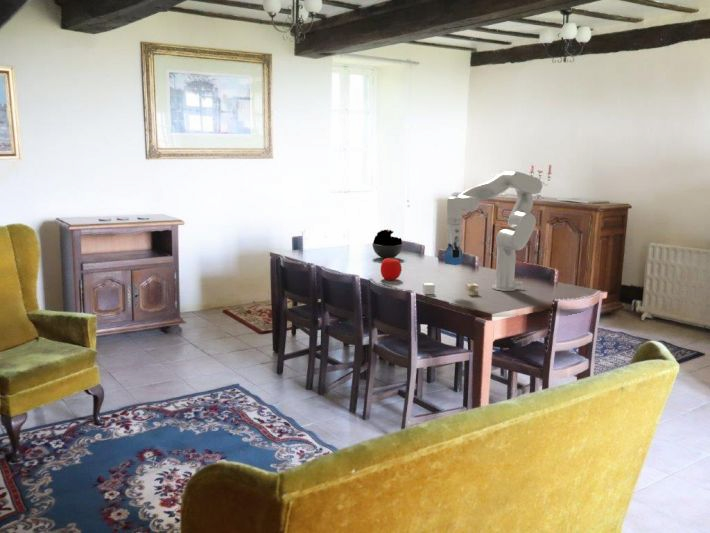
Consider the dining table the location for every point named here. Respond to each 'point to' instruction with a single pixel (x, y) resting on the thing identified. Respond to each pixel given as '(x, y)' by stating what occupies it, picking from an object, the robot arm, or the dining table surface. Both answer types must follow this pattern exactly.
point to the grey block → (428, 288)
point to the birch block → (472, 289)
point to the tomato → (390, 269)
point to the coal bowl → (387, 244)
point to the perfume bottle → (449, 256)
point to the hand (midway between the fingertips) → (453, 255)
